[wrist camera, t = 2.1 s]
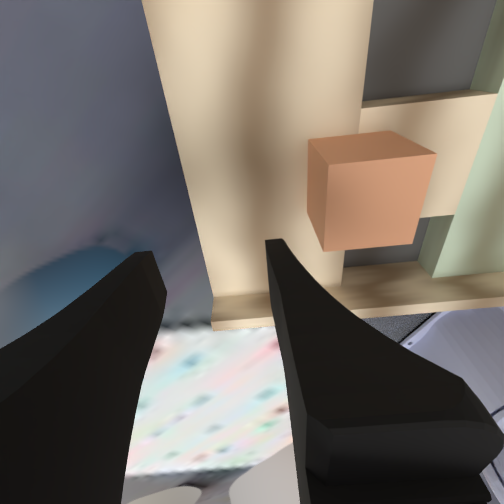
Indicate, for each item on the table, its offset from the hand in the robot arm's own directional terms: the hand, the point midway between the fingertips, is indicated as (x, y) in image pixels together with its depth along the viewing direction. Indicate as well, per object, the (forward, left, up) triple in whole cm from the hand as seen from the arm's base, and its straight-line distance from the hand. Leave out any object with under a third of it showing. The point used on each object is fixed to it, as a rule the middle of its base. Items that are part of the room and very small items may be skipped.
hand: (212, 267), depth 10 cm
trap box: (+5, -9, -10) cm, 15 cm away
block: (+4, -6, -8) cm, 11 cm away
